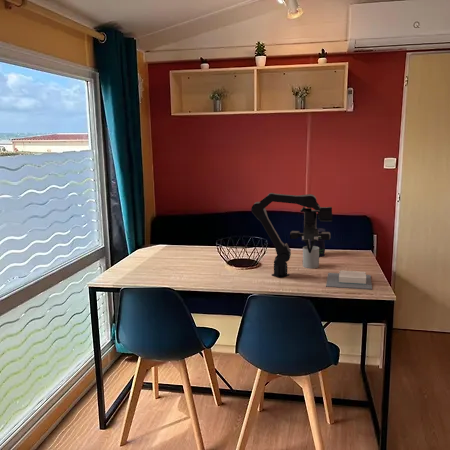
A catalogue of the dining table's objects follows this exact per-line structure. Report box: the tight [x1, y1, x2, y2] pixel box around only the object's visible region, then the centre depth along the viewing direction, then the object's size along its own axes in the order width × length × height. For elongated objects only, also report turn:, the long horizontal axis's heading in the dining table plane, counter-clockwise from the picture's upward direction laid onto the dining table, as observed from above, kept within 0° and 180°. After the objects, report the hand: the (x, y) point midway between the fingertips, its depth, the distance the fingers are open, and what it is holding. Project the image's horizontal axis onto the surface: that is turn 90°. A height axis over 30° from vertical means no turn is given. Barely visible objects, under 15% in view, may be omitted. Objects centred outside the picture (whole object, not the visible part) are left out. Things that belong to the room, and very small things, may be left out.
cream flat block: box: [338, 270, 367, 285], centre depth 214 cm, size 3×10×12 cm
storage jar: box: [309, 227, 326, 258], centre depth 260 cm, size 10×10×15 cm
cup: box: [302, 245, 320, 270], centre depth 239 cm, size 8×8×10 cm
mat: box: [325, 272, 373, 291], centre depth 215 cm, size 20×20×1 cm
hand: (309, 252), depth 221 cm, fingers closed
